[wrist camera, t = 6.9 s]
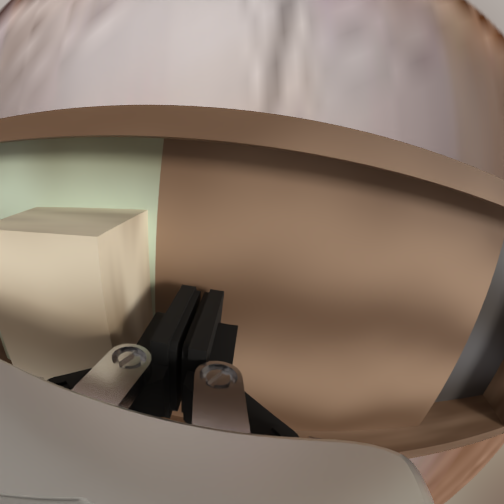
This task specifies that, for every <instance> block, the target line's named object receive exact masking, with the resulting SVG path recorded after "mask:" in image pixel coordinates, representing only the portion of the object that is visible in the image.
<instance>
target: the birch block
mask: <svg viewBox="0 0 504 504" xmlns="http://www.w3.org/2000/svg"><path fill="white" fill-rule="evenodd" d="M152 318H153V311H152V299H151V285H150V267H149V243H148V210H141V209H114V208H76V207H35V208H32V209H29V210H26V211H23V212H20V213H17V214H14V215H12V216H9V217H6V218H3V219H0V332H1V335H2V337H3V340H4V343H5V346H6V349H7V351H8V354H9V356H10V359H11V361H12V364H13V365H14V366H16V367H18V368H20V369H23V370H25V371H27V372H29V373H31V374H33V375H36V376H38V377H43V378H44V379H45V380H48V379H50V378H53V377H56V376H60V375H65V374H69V373H73V372H77V371H81V370H85V369H89V368H93V367H94V366H95V365H96V364H97V363H98V362H99V361H100V360H101V359H102V358H103V357H104V356H105V355H106V354H107V353H108V352H109V351H110V350H111V349H112V348H114V347H116V346H118V345H121V344H137V342H138V341H139V339H140V338H141V336H142V334H143V333H144V331H145V329H146V328H147V326H148V325H149V323H150V321H151V320H152Z"/></svg>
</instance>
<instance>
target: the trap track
mask: <svg viewBox="0 0 504 504" xmlns="http://www.w3.org/2000/svg"><path fill="white" fill-rule="evenodd" d="M35 207H76V208H114V209H141V210H148V243H149V267H150V285H151V299H152V311H153V317H154V315H155V314H156V312H162V313H166V311H167V310H168V308H169V306H170V305H171V303H172V301H173V299H174V298H175V296H176V294H177V293H178V291H179V289H180V288H181V286H182V285H188V286H194V287H196V289H197V291H201V299H202V297H203V294H204V292H209V291H210V289H213V290H219V291H224V299H223V307H222V316H221V323H224V324H231V325H238V330H237V337H236V344H235V351H234V358H233V366H235V367H237V368H238V369H239V371H240V372H241V374H242V377H243V383H244V391H245V392H246V393H247V394H249V395H250V396H251V397H252V398H253V399H255V400H256V401H257V402H258V403H260V404H261V405H262V406H263V407H264V408H266V409H267V410H268V411H269V412H271V413H272V414H273V415H274V416H276V417H277V418H278V419H280V420H281V421H282V422H283V423H285V424H286V425H287V426H289V427H290V428H291V429H293V430H294V431H295V432H296V433H297V434H298V436H299V437H300V438H308V437H309V436H311V437H316V438H321V439H335V440H345V441H354V442H360V443H367V444H372V445H376V446H380V447H384V448H387V449H390V450H393V451H395V452H398V453H400V454H402V455H403V456H405V457H407V458H408V459H409V458H414V457H420V456H425V455H430V454H434V453H439V452H443V451H447V450H451V449H455V448H459V447H463V446H466V445H470V444H473V443H476V442H480V441H483V440H486V439H489V438H492V437H495V436H497V435H500V434H503V433H504V180H503V179H501V178H498V177H496V176H494V175H492V174H489V173H487V172H485V171H482V170H480V169H478V168H475V167H473V166H470V165H468V164H465V163H462V162H460V161H457V160H455V159H452V158H449V157H446V156H444V155H441V154H438V153H435V152H432V151H429V150H426V149H423V148H420V147H417V146H414V145H410V144H407V143H404V142H400V141H397V140H394V139H390V138H386V137H383V136H379V135H375V134H371V133H368V132H363V131H359V130H355V129H351V128H347V127H342V126H338V125H333V124H328V123H323V122H318V121H313V120H307V119H302V118H296V117H290V116H283V115H277V114H270V113H262V112H254V111H245V110H236V109H225V108H213V107H199V106H178V105H116V106H96V107H82V108H70V109H61V110H52V111H44V112H37V113H30V114H24V115H18V116H12V117H7V118H2V119H0V219H3V218H6V217H9V216H12V215H14V214H17V213H20V212H23V211H26V210H29V209H32V208H35ZM200 301H201V300H200ZM0 359H1V360H3V361H5V362H7V363H10V364H12V361H11V359H10V356H9V354H8V351H7V349H6V346H5V343H4V340H3V337H2V335H1V332H0ZM12 365H13V364H12ZM161 418H165V417H161ZM165 419H169V418H165ZM169 420H173V421H178V422H183V423H186V422H185V421H184V420H183V413H182V412H181V403H180V406H179V409H178V411H172V414H171V417H170V419H169Z"/></svg>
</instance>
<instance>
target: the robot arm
mask: <svg viewBox="0 0 504 504" xmlns="http://www.w3.org/2000/svg"><path fill="white" fill-rule="evenodd" d="M223 299H224V291H219V290H213V289H210V291H209V292H204V294H203V297H202V299H201V291H197V289H196V287H194V286H188V285H182V286H181V288H180V289H179V291H178V293H177V294H176V296H175V298H174V299H173V301H172V303H171V305H170V306H169V308H168V310H167V311H166V313H162V312H156V314H155V315H154V317H153V318H152V320H151V321H150V323H149V325H148V326H147V328H146V329H145V331H144V333H143V334H142V336H141V338H140V339H139V341H138V342H137V344H121V345H118V346H116V347H114V348H112V349H111V350H110V351H109V352H108V353H107V354H106V355H105V356H104V357H103V358H102V359H101V360H100V361H99V362H98V363H97V364H96V365H95V366H94V367H93V368H89V369H85V370H81V371H77V372H73V373H69V374H65V375H60V376H56V377H53V378H50V379H48V380H45V379H44V378H43V377H38V376H36V375H33V374H31V373H29V372H27V371H25V370H23V369H20V368H18V367H16V366H14V365H12V364H10V363H7V362H5V361H3V360H1V359H0V504H434V502H433V499H432V496H431V494H430V492H429V490H428V487H427V485H426V483H425V481H424V479H423V477H422V476H421V474H420V472H419V471H418V469H417V468H416V466H415V465H414V464H413V463H412V462H411V461H410V460H409V459H408V458H407V457H405V456H403V455H402V454H400V453H398V452H395V451H393V450H390V449H387V448H384V447H380V446H376V445H372V444H367V443H360V442H354V441H345V440H335V439H321V438H316V437H311V436H309V437H308V438H300V437H299V436H298V434H297V433H296V432H295V431H294V430H293V429H291V428H290V427H289V426H287V425H286V424H285V423H283V422H282V421H281V420H280V419H278V418H277V417H276V416H274V415H273V414H272V413H271V412H269V411H268V410H267V409H266V408H264V407H263V406H262V405H261V404H260V403H258V402H257V401H256V400H255V399H253V398H252V397H251V396H250V395H249V394H247V393H246V392H245V391H244V383H243V377H242V374H241V372H240V371H239V369H238V368H237V367H235V366H233V358H234V351H235V344H236V337H237V330H238V325H231V324H224V323H221V316H222V307H223ZM200 300H201V301H200ZM180 403H181V412H182V413H183V420H184V421H185V422H186V423H183V422H178V421H173V420H169V419H170V417H171V414H172V411H178V409H179V406H180ZM161 417H165V418H169V419H165V418H161Z"/></svg>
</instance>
